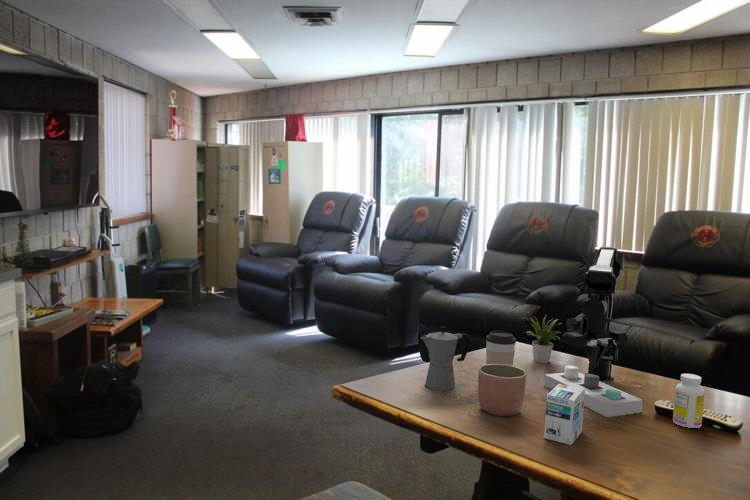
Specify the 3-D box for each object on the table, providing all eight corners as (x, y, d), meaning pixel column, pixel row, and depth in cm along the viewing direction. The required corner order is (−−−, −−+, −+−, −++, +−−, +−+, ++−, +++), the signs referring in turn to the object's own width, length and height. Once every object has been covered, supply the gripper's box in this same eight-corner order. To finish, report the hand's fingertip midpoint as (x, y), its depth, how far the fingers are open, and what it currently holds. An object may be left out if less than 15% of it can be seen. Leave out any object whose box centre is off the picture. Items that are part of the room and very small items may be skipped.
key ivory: (571, 378, 183) (572, 365, 182) (580, 382, 179) (581, 369, 178) (560, 379, 181) (561, 366, 181) (569, 383, 177) (570, 370, 177)
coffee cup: (516, 386, 181) (519, 336, 179) (485, 384, 181) (489, 335, 179) (510, 376, 190) (513, 329, 188) (481, 375, 190) (484, 328, 188)
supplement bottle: (698, 422, 157) (703, 374, 156) (703, 431, 151) (708, 381, 150) (670, 418, 160) (675, 370, 158) (674, 427, 153) (678, 378, 152)
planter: (472, 414, 156) (474, 373, 155) (480, 399, 168) (483, 361, 167) (521, 422, 152) (523, 380, 151) (526, 406, 164) (529, 367, 162)
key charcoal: (591, 387, 175) (592, 373, 174) (601, 391, 171) (602, 377, 171) (580, 388, 173) (581, 374, 173) (590, 392, 170) (591, 379, 169)
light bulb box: (571, 446, 139) (575, 400, 138) (542, 438, 143) (545, 394, 142) (582, 431, 148) (586, 388, 147) (555, 424, 152) (558, 383, 151)
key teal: (612, 402, 167) (613, 388, 167) (623, 407, 163) (624, 393, 163) (601, 404, 166) (602, 390, 165) (611, 409, 162) (613, 394, 162)
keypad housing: (576, 382, 187) (576, 371, 186) (641, 412, 163) (642, 400, 162) (544, 385, 182) (545, 374, 182) (606, 417, 158) (607, 404, 158)
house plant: (518, 364, 203) (521, 317, 202) (515, 353, 217) (518, 309, 215) (562, 368, 201) (565, 320, 199) (556, 357, 215) (559, 312, 213)
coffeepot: (422, 391, 172) (426, 330, 170) (414, 381, 181) (417, 322, 179) (474, 390, 175) (477, 329, 173) (463, 380, 184) (466, 322, 183)
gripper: (602, 306, 181) (598, 357, 183) (551, 309, 174) (547, 361, 176) (630, 314, 171) (626, 368, 172) (578, 317, 164) (573, 373, 165)
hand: (592, 367), depth 172 cm, fingers closed
